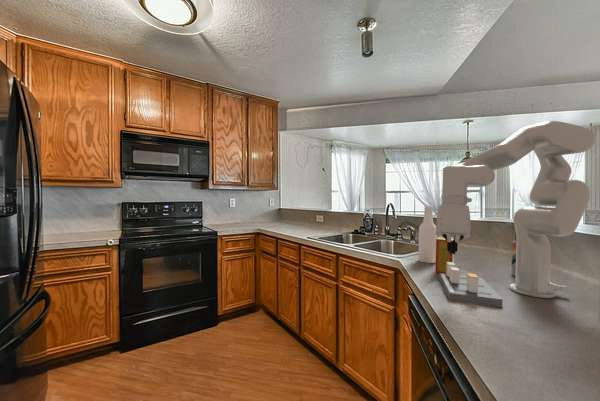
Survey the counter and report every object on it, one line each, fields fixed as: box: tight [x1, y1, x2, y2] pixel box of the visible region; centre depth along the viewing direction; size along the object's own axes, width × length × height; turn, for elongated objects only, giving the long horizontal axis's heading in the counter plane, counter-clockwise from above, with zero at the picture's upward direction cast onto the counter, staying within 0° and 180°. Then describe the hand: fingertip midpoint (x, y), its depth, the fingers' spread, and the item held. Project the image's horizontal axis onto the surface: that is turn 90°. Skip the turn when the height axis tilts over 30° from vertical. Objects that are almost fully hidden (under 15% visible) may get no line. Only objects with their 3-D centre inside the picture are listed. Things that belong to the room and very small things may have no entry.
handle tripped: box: [466, 272, 479, 293], centre depth 91 cm, size 2×4×5 cm, turn 159°
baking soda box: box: [435, 236, 456, 274], centre depth 123 cm, size 10×6×16 cm
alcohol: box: [417, 205, 438, 264], centre depth 141 cm, size 9×9×30 cm
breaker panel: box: [438, 273, 504, 308], centre depth 98 cm, size 15×24×3 cm, turn 159°
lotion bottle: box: [511, 231, 516, 277], centre depth 117 cm, size 6×6×20 cm
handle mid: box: [450, 266, 461, 284], centre depth 100 cm, size 2×4×5 cm, turn 159°
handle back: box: [446, 262, 456, 277], centre depth 107 cm, size 2×4×5 cm, turn 159°
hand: (452, 253), depth 92 cm, fingers closed
